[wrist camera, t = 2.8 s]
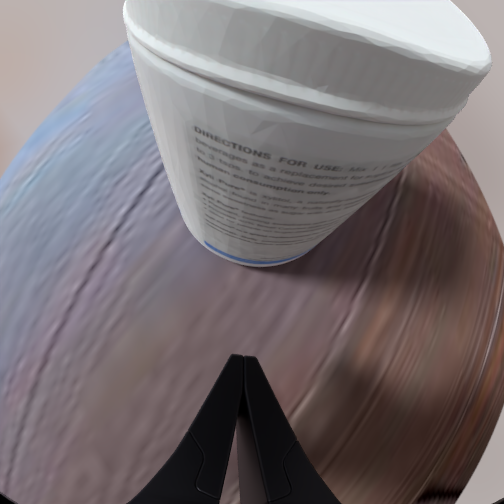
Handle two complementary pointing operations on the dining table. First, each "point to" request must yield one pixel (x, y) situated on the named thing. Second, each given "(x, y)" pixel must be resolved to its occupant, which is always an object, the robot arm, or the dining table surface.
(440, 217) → the dining table surface
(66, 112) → the dining table surface
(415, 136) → the supplement tub
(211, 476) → the robot arm
